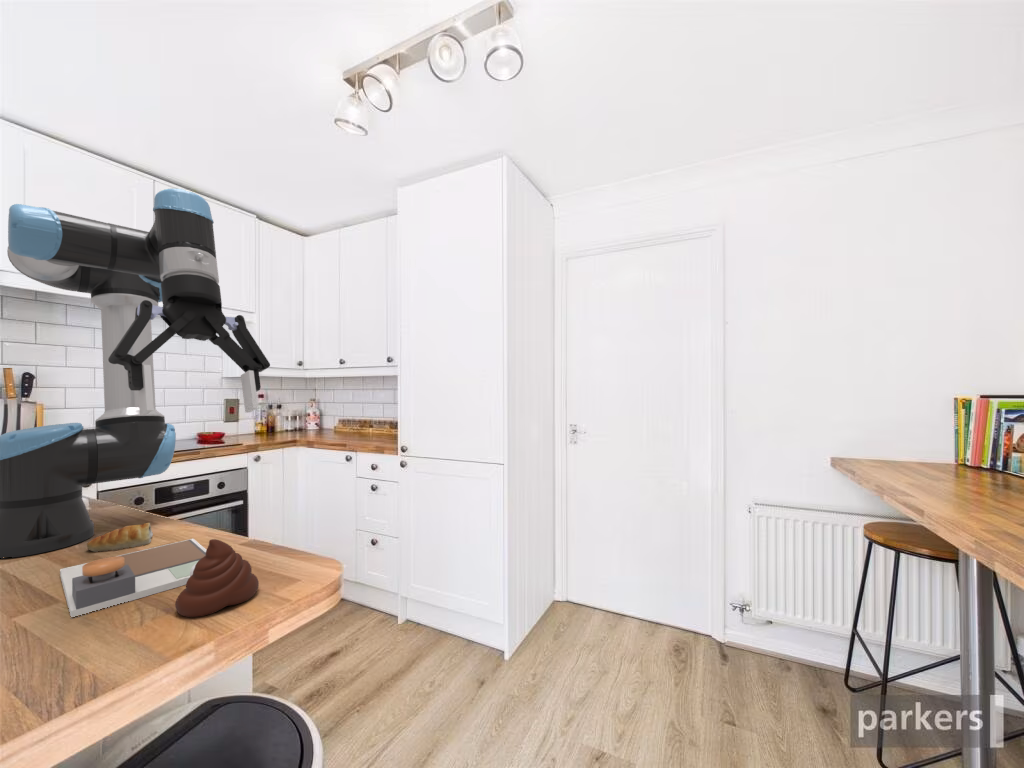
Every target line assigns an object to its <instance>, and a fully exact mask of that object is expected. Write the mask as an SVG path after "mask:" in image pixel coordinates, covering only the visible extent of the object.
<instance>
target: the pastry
mask: <svg viewBox="0 0 1024 768" xmlns="http://www.w3.org/2000/svg"><path fill="white" fill-rule="evenodd" d="M153 534H154V533H153V531H152V526H151V522H146V523H145V522H144V523H142V524H132V525H126V526H123V527H121V528H116V529H114V530H112V531H109V532H106V533H105V534H102V535H99V536H96V537H94V538H93V539H91V540H90V541H88V542H87V543H86V547H87V549H88V550H89V551H91V552H94V553H95V552H97V553H99V552H98V551H100V552H108V550H113V551H119V550H124V549H123V548H126V549H130V548H129V547H132V548H137V547H136V546H138V547H143V546H146V544H147V545H149V544H150V543H151V542H152V537H153V536H154V535H153ZM142 545H143V546H142ZM118 549H119V550H118Z"/></svg>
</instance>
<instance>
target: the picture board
mask: <svg viewBox="0 0 1024 768" xmlns="http://www.w3.org/2000/svg"><path fill="white" fill-rule="evenodd" d="M206 550H207V548H205V547H204V546H203V545H202V544H200V543H199V542H198V540H196V539H195V538H190V539H186V540H181V541H176V542H172V543H167V544H164V545H163V544H162V545H158V546H155V547H154V546H153V547H149V548H147V549H143V550H142V549H141V550H138V551H132V552H129V553H124V554H120V555H118V556H121V557H124V558H125V565H124V567H122V568H121V569H119V570H117V571H115V578H111V579H107V580H104V581H100V582H96V583H92V576H83V575H82V567H83V566H84V565H85V564H87V563H88V562H86V563H81V564H77V565H72V566H68V567H64V568H60V569H59V576H60V577H59V578H60V580H61V584H62V588H63V593H64V596H65V599H66V600H65V601H66V604H67V609H68V608H69V609H68V612H70V613H69V616H71V617H75V616H78V615H81V616H83V615H82V614H85V615H87V614H86V613H88V614H90V613H89V612H92V611H95V612H97V611H96V610H98V611H101V610H100V609H102V608H105V609H108V608H111V607H110V606H112V607H114V606H113V605H115V606H118V605H117V604H119V605H121V604H120V603H122V604H125V603H129V602H133V601H135V600H138V599H141V598H145V597H146V598H147V597H149V596H151V595H155V594H158V593H162V592H166V591H168V590H172V589H175V588H179V587H182V586H186V583H187V581H188V579H189V578H190V570H191V568H192V567H193V566H194V565H195V564H196V563H197V562H198V561H199V560H200V559H201V558H203V557H204V556H206ZM128 601H129V602H128ZM124 602H125V603H124ZM107 607H108V608H107ZM102 610H103V609H102ZM92 613H93V612H92ZM71 617H70V618H71ZM78 617H79V616H78ZM75 618H76V617H75Z"/></svg>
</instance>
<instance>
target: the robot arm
mask: <svg viewBox="0 0 1024 768" xmlns="http://www.w3.org/2000/svg"><path fill="white" fill-rule="evenodd" d="M152 211H153V213H154V222H153V225H151V229H150V230H149V231H146V230H142V229H137V228H132V227H128V226H123V225H119V224H114V223H110V222H108V223H107V222H104V221H100V220H96V219H93V218H92V219H91V218H86V217H83V216H78V215H73V214H70V213H65V212H60V211H57V210H56V211H55V210H52V209H50V208H47V207H42V206H41V207H39V206H38V207H37V206H32V205H27V204H22V203H14V204H12V205H11V206H9V209H8V221H7V237H8V238H7V241H8V246H7V249H6V250H7V257H8V260H9V262H10V263H11V265H12V266H13V267H14V268H15V269H16V271H18V272H19V273H21V274H22V275H24V276H25V277H27V278H29V279H32V280H34V281H36V282H39V283H41V284H44V285H46V286H50V287H53V288H57V289H61V290H63V291H64V290H65V291H70V292H78V293H84V294H90V302H91V303H92V305H94V306H96V307H97V308H98V309H100V319H101V340H102V341H101V343H102V344H101V346H102V347H101V348H102V369H103V370H102V372H103V373H102V375H103V398H104V403H103V404H104V412H103V414H101V415H100V416H99V417H97V418H96V420H94V421H95V423H94V424H95V426H94V428H87V429H85V428H84V426H83V424H82V423H81V422H68V423H57V424H49V425H41V426H36V427H28V428H23V429H16V430H12V431H9V432H5V433H3V434H0V558H1V559H4V558H3V557H12V558H18V557H27V556H33V555H38V554H42V553H47V552H51V551H55V550H60V549H64V548H66V547H70V546H73V545H76V544H79V543H82V542H85V541H87V540H88V539H91V538H92V537H93V536H94V535H95V523H94V521H93V520H92V519H91V517H90V514H89V511H88V509H87V507H86V504H85V502H84V500H83V486H86V485H94V484H101V483H102V484H103V483H109V482H116V481H117V482H118V481H124V480H132V479H143V478H145V477H152V476H157V475H161V474H163V473H166V471H167V470H169V467H170V465H171V463H172V460H173V457H174V454H175V450H176V442H177V441H176V440H177V438H176V428H175V426H174V425H173V424H171V423H170V422H169V423H166V422H165V419H166V418H165V415H164V414H163V413H161V412H159V411H158V410H157V409H156V406H157V405H156V393H155V392H156V391H155V390H156V389H155V371H154V353H155V352H157V350H159V349H160V348H162V346H163V345H164V344H165V343H167V342H168V341H169V340H171V338H173V337H174V336H175V335H177V336H178V337H181V339H183V340H191V339H192V340H193V339H194V340H197V341H207V340H208V341H210V342H211V343H212V344H213V345H215V346H217V347H218V348H219V349H220V350H221V351H223V353H225V354H226V355H227V356H228V357H229V358H230V359H231V361H233V362H234V363H235V364H236V365H237V366H238V367H239V368H240V369H241V370H242V371H243V372H244V373H242V374H241V375H240V379H241V380H240V381H241V387H242V397H243V404H244V413H246V414H247V413H252V412H254V411H256V410H257V409H259V403H258V394H257V393H258V391H260V389H261V380H260V379H261V378H260V373H261V372H263V371H265V370H266V369H268V368H269V367H271V364H270V361H269V360H268V358H267V357H266V355H265V354H264V353H263V351H262V349H261V347H260V346H259V345H258V343H257V342H256V340H255V338H254V337H253V336H252V333H251V332H250V331H249V329H248V327H247V324H246V320H245V317H244V316H243V315H241V314H238V315H236V316H235V317H234V316H233V317H232V316H225V315H224V313H223V311H222V310H223V309H222V307H223V306H222V305H223V302H222V301H223V300H222V294H221V286H220V285H219V283H220V277H219V269H218V260H217V254H216V253H217V252H216V243H215V233H214V219H213V217H212V216H213V215H212V211H211V207H210V204H209V203H208V202H207V200H206V199H205V198H204V197H203V196H201V195H199V194H197V193H195V192H193V191H188V190H186V189H183V188H167V189H163V190H160V191H158V192H157V193H156V194H155V195H154V198H153V208H152ZM161 302H162V306H159V303H161ZM158 316H160V317H159V318H161V320H163V321H164V323H165V324H167V326H168V327H167V328H166V329H165V330H163V331H162V332H161V333H160V334H159V335H157V337H155V338H154V339H153V335H152V331H153V330H152V320H154V319H155V318H156V317H158ZM224 326H227V328H228V330H229V331H231V333H232V335H233V336H234V338H235V339H236V341H237V342H236V341H235V340H234V339H233V338H232V337H231V334H230V332H229V331H228V330H226V329H225V327H224Z"/></svg>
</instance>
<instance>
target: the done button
mask: <svg viewBox="0 0 1024 768" xmlns="http://www.w3.org/2000/svg"><path fill="white" fill-rule="evenodd" d="M86 563H87V564H85V563H84V564H85V565H84V566H83V567H82V575H83V576H92V583H96V582H100V581H104V580H107V579H111V578H115V571H117V570H119V569H121V568H122V567H124V565H125V558H124V557H121V556H119V555H115V556H107V557H103V558H99V559H95V560H92V561H89V562H86Z"/></svg>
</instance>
